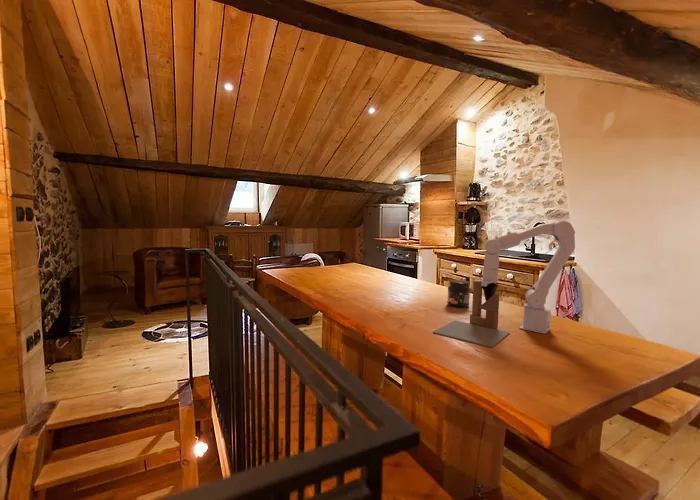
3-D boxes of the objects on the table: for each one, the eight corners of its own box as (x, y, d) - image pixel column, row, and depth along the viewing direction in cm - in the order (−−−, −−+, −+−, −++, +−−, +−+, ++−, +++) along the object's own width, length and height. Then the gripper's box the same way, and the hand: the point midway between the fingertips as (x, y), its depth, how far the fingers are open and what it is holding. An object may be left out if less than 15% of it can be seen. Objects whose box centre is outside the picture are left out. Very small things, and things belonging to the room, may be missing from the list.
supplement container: (442, 303, 184) (443, 280, 182) (459, 302, 188) (460, 279, 187) (456, 309, 174) (458, 284, 173) (473, 307, 179) (475, 283, 177)
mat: (509, 333, 140) (509, 332, 140) (492, 347, 125) (492, 346, 125) (454, 321, 154) (454, 320, 154) (432, 332, 139) (432, 331, 139)
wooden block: (492, 329, 144) (495, 285, 142) (469, 322, 153) (471, 280, 151) (498, 328, 147) (500, 283, 144) (474, 321, 155) (476, 279, 153)
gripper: (487, 265, 158) (485, 296, 160) (474, 269, 147) (472, 302, 149) (504, 267, 154) (501, 299, 155) (492, 271, 143) (490, 305, 144)
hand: (488, 301), depth 152 cm, fingers closed
